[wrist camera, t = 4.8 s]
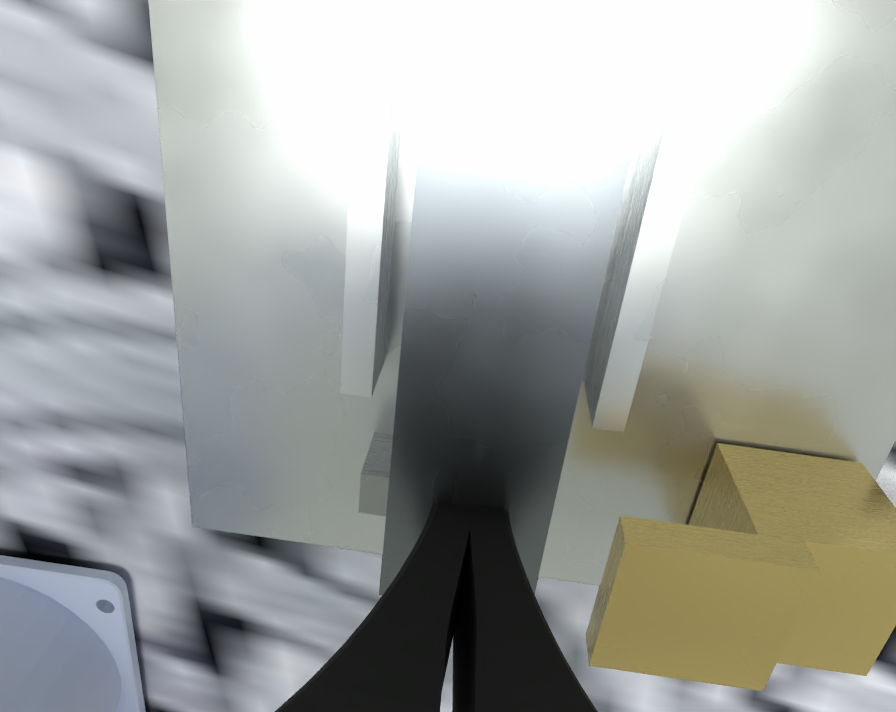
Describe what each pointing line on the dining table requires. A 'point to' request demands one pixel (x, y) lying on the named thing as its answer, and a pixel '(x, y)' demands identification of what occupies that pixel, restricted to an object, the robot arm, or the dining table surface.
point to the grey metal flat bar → (509, 251)
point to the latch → (753, 575)
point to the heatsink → (625, 284)
